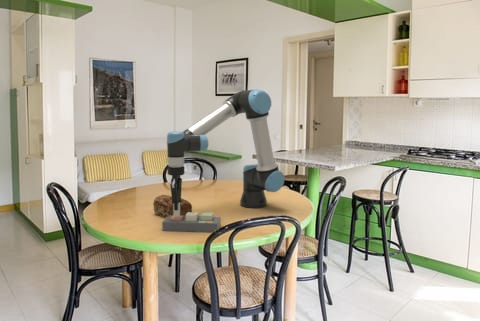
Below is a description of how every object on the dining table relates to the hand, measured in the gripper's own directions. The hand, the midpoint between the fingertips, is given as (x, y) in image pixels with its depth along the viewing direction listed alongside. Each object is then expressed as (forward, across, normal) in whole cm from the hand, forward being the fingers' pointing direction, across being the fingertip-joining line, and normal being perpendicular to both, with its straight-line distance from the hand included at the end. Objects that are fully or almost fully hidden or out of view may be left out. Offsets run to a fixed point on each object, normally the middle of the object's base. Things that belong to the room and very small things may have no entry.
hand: (176, 216), depth 186 cm
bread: (+6, -19, -7) cm, 21 cm away
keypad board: (+5, 0, +7) cm, 9 cm away
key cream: (+2, 0, +7) cm, 7 cm away
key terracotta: (+4, 0, 0) cm, 4 cm away
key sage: (+2, 0, +14) cm, 14 cm away
